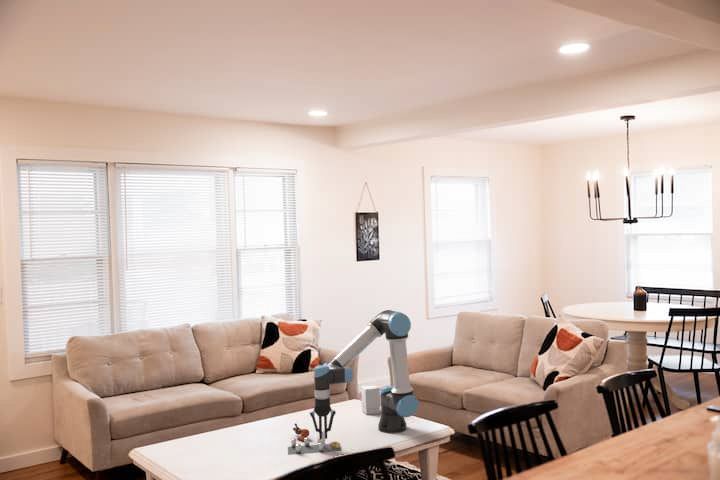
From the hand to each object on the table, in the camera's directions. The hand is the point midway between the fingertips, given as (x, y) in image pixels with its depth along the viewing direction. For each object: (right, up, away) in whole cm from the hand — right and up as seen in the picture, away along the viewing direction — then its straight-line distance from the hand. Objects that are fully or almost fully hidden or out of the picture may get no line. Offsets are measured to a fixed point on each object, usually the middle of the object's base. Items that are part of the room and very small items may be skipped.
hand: (323, 445), depth 326 cm
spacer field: (-8, -2, -1) cm, 8 cm away
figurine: (-13, -3, +19) cm, 23 cm away
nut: (+5, -1, 0) cm, 6 cm away
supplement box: (+25, -1, +64) cm, 69 cm away
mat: (-4, -2, 0) cm, 5 cm away
